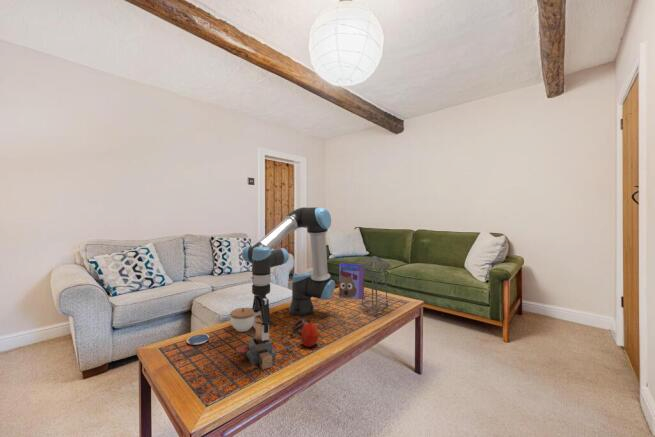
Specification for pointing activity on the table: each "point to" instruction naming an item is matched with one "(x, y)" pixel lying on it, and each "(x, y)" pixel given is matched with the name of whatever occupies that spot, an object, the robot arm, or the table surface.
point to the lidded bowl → (242, 319)
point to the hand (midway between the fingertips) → (260, 333)
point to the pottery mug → (300, 327)
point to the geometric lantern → (375, 281)
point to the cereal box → (351, 281)
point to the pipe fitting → (259, 330)
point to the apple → (309, 334)
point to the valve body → (259, 353)
